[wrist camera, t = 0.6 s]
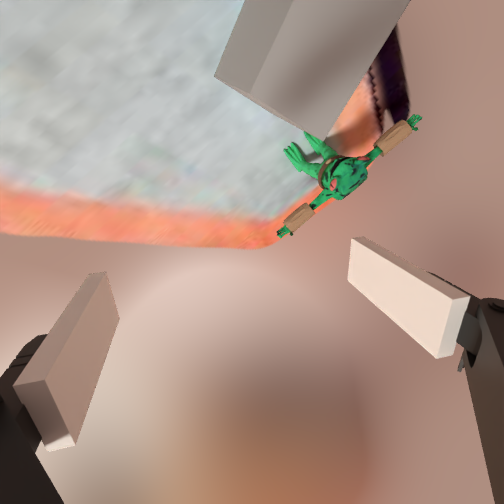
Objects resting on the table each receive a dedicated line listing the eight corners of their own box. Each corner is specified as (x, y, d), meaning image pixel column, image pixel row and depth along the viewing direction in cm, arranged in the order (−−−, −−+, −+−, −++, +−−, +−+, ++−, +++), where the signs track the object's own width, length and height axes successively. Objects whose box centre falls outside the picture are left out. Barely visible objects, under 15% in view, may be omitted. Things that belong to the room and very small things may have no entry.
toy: (359, 77, 44) (435, 90, 33) (372, 111, 48) (444, 133, 37) (239, 188, 49) (270, 232, 38) (260, 210, 53) (294, 256, 42)
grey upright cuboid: (213, 76, 38) (249, 93, 26) (264, -48, 32) (341, -100, 20) (271, 113, 43) (323, 141, 31) (323, 11, 38) (412, -2, 26)
